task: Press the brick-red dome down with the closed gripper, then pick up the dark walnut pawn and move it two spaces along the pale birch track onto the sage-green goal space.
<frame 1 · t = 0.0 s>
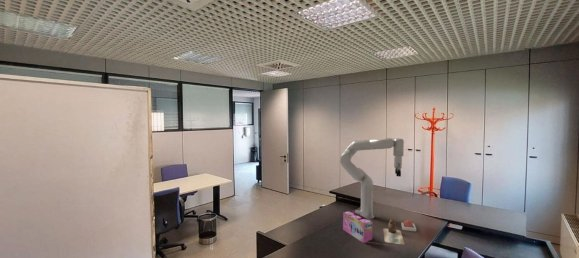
hand: (397, 175, 205), 37 cm above the table, tool pointing down, fingers open, 9 cm apart
popper base: (408, 229, 188), on the table
pink printed package: (357, 235, 179), on the table
pawn: (392, 231, 182), point 1 cm above the table, touching track board
track board: (393, 237, 176), on the table
red dome: (408, 223, 188), point 4 cm above the table, slide at 0.0 cm
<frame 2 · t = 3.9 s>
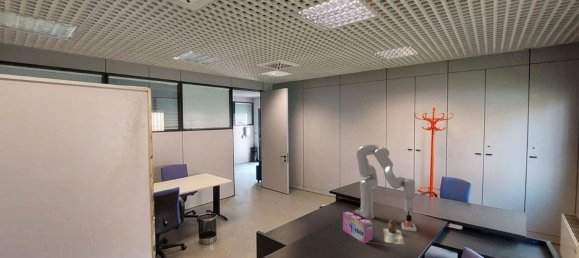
hand: (408, 220, 188), 7 cm above the table, tool pointing down, fingers closed
red dome: (408, 224, 188), point 4 cm above the table, slide at 0.3 cm, touching gripper
everything else where it was.
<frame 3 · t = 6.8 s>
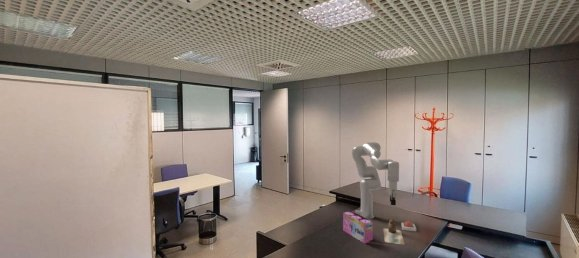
hand: (392, 203, 182), 22 cm above the table, tool pointing down, fingers open, 6 cm apart
red dome: (408, 225, 188), point 3 cm above the table, slide at 1.0 cm
everything else where it was.
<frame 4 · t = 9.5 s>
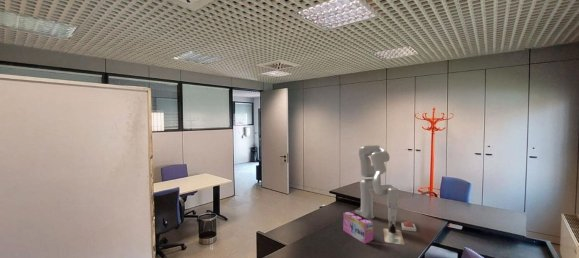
hand: (392, 229, 182), 2 cm above the table, tool pointing down, fingers closed on pawn, 4 cm apart
pawn: (392, 231, 182), point 1 cm above the table, touching gripper, track board
everything else where it was.
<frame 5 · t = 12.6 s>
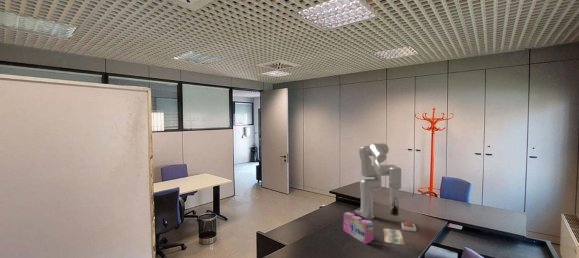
hand: (394, 212, 169), 20 cm above the table, tool pointing down, fingers closed on pawn, 4 cm apart
pawn: (394, 214, 169), point 18 cm above the table, touching gripper
when the fingers open (4 cm above the table, at t = 16.0 s): pawn drops 1 cm, resting on track board.
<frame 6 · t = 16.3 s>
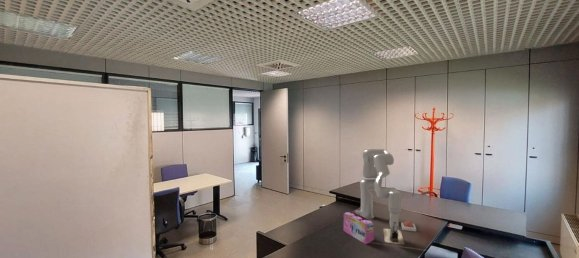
hand: (394, 235, 169), 4 cm above the table, tool pointing down, fingers open, 7 cm apart
pawn: (394, 240, 169), point 1 cm above the table, touching track board
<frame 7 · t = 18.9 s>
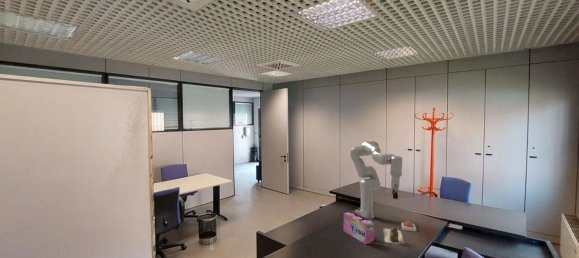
hand: (394, 196, 184), 26 cm above the table, tool pointing down, fingers open, 9 cm apart
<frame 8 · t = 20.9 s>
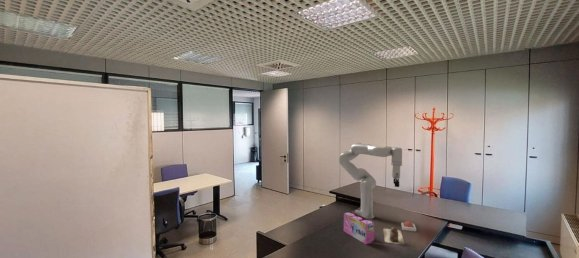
hand: (396, 185, 198), 30 cm above the table, tool pointing down, fingers open, 9 cm apart
at the end: red dome slide at 1.0 cm; pawn 0.1 cm from the target spot, point 1.0 cm above the table; pawn tilted 0° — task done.
